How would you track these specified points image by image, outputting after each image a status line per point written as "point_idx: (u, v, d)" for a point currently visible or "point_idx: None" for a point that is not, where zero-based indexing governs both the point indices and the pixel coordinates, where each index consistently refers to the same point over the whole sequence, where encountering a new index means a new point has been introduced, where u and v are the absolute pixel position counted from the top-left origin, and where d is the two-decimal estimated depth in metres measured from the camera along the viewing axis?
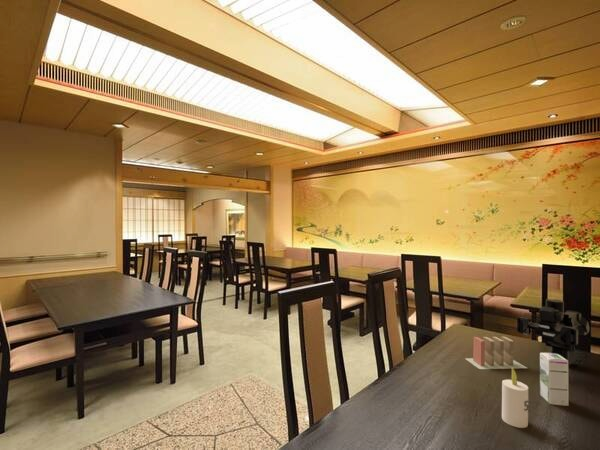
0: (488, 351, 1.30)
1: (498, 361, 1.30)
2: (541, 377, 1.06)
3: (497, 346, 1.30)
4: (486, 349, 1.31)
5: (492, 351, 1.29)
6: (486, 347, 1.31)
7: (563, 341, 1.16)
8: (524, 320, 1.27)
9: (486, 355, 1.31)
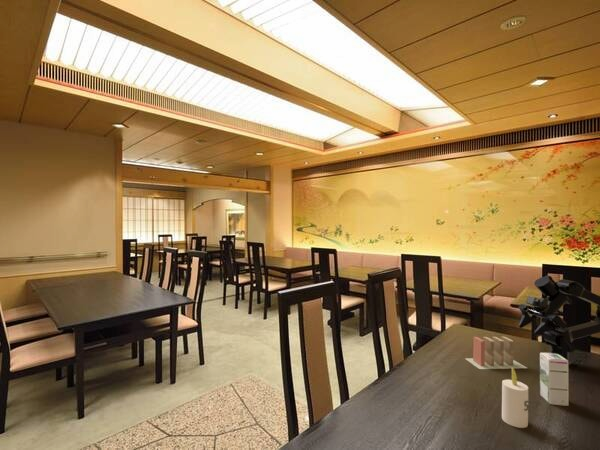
0: (488, 351, 1.30)
1: (498, 361, 1.30)
2: (541, 377, 1.06)
3: (497, 346, 1.30)
4: (486, 349, 1.31)
5: (492, 351, 1.29)
6: (486, 347, 1.31)
7: (549, 329, 1.27)
8: (522, 311, 1.38)
9: (486, 355, 1.31)
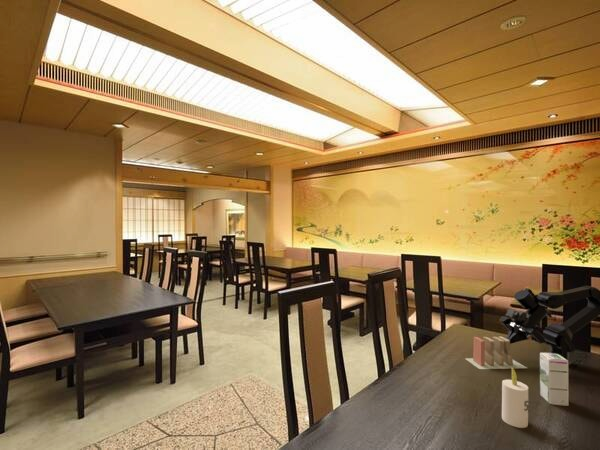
0: (488, 351, 1.30)
1: (498, 361, 1.30)
2: (541, 377, 1.06)
3: (497, 346, 1.30)
4: (486, 349, 1.31)
5: (492, 351, 1.29)
6: (486, 347, 1.31)
7: (520, 339, 1.30)
8: (509, 326, 1.34)
9: (486, 355, 1.31)
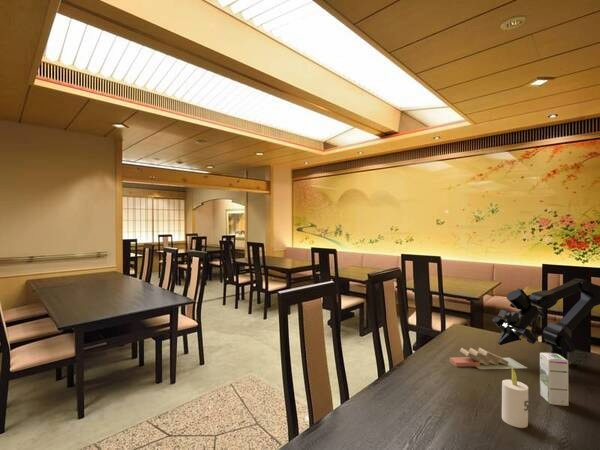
0: None
1: (493, 363, 1.30)
2: (541, 377, 1.06)
3: None
4: None
5: (476, 358, 1.28)
6: None
7: (513, 339, 1.30)
8: (502, 327, 1.34)
9: None
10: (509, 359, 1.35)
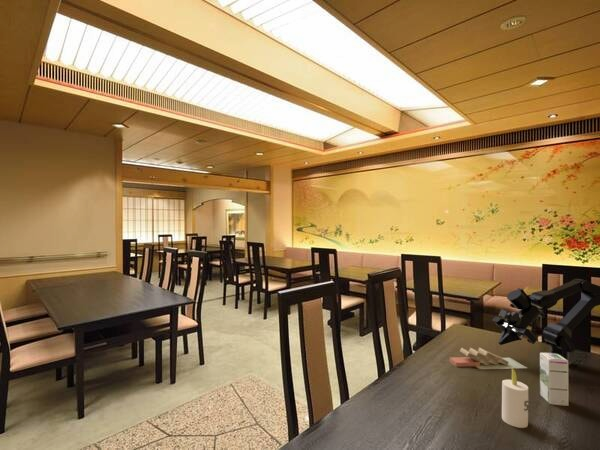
0: None
1: (493, 363, 1.30)
2: (541, 377, 1.06)
3: None
4: None
5: (476, 358, 1.28)
6: None
7: (513, 339, 1.30)
8: (502, 326, 1.34)
9: None
10: (509, 359, 1.35)
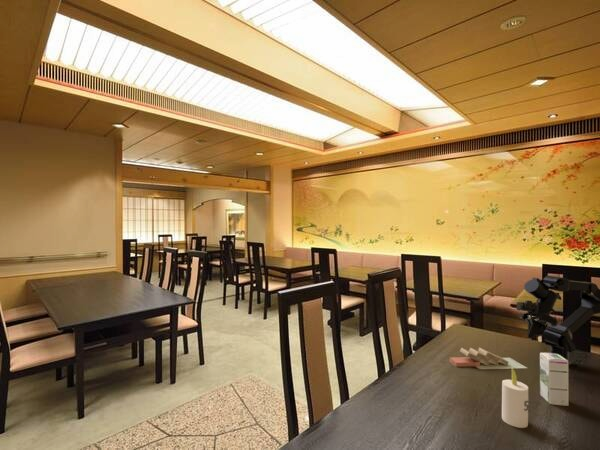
0: None
1: (493, 363, 1.30)
2: (541, 377, 1.06)
3: None
4: None
5: (476, 358, 1.28)
6: None
7: (540, 329, 1.28)
8: (526, 320, 1.33)
9: None
10: (509, 359, 1.35)
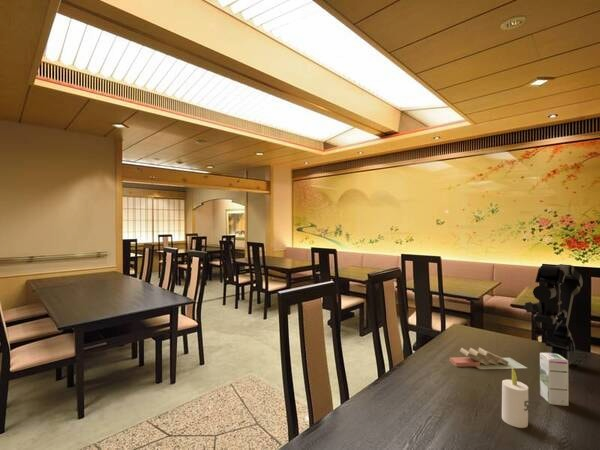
0: None
1: (493, 363, 1.30)
2: (541, 377, 1.06)
3: None
4: None
5: (476, 358, 1.28)
6: None
7: (554, 326, 1.24)
8: None
9: None
10: (509, 359, 1.35)
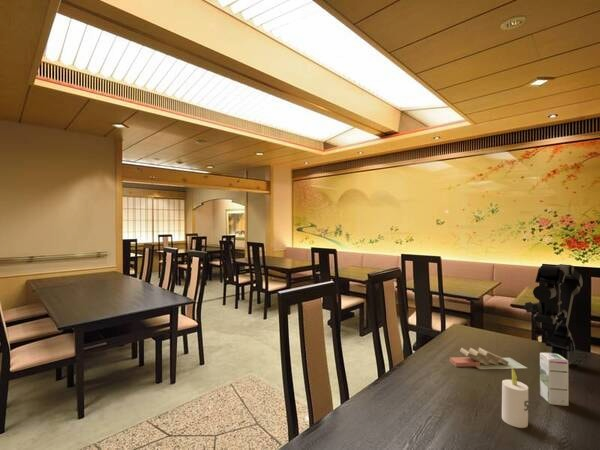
0: None
1: (493, 363, 1.30)
2: (541, 377, 1.06)
3: None
4: None
5: (476, 358, 1.28)
6: None
7: (554, 326, 1.24)
8: None
9: None
10: (509, 359, 1.35)
